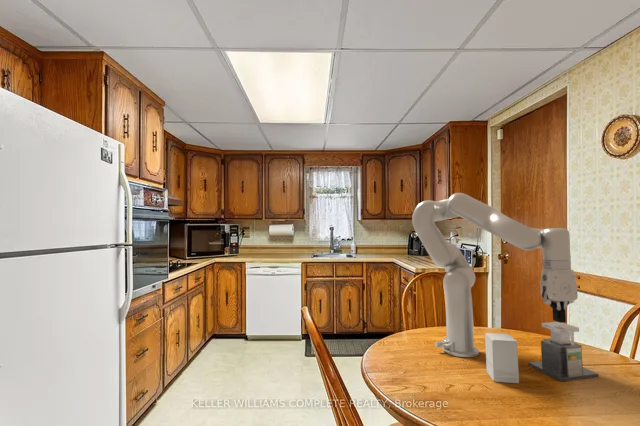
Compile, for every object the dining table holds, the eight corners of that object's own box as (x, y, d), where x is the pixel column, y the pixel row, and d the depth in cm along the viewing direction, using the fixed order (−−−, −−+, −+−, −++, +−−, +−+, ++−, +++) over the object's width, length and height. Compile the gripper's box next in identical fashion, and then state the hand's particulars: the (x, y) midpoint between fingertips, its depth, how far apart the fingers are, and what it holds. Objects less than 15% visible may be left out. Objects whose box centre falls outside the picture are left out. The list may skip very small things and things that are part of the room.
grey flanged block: (568, 362, 100) (567, 331, 100) (542, 350, 109) (541, 323, 110) (587, 360, 101) (586, 330, 102) (560, 349, 110) (559, 321, 111)
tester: (560, 381, 99) (558, 351, 99) (528, 365, 111) (527, 338, 111) (598, 377, 101) (597, 347, 102) (563, 361, 113) (562, 335, 114)
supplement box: (519, 383, 98) (518, 341, 99) (493, 381, 99) (491, 339, 100) (510, 373, 105) (509, 333, 106) (485, 371, 107) (484, 332, 107)
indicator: (572, 360, 100) (572, 357, 100) (569, 359, 101) (569, 356, 101) (576, 359, 100) (576, 357, 100) (574, 358, 101) (574, 356, 101)
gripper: (546, 267, 103) (549, 326, 102) (586, 265, 105) (589, 323, 104) (527, 264, 110) (530, 319, 109) (565, 263, 113) (568, 317, 112)
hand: (559, 321), depth 107 cm, fingers closed
